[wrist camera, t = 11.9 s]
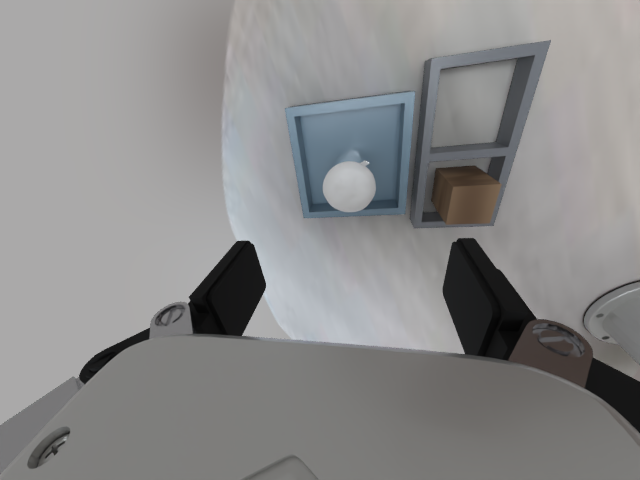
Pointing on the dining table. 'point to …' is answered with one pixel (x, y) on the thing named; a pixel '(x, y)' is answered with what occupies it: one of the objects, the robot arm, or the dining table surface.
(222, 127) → the dining table surface
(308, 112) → the tray
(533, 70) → the holder
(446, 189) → the walnut peg
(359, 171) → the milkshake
